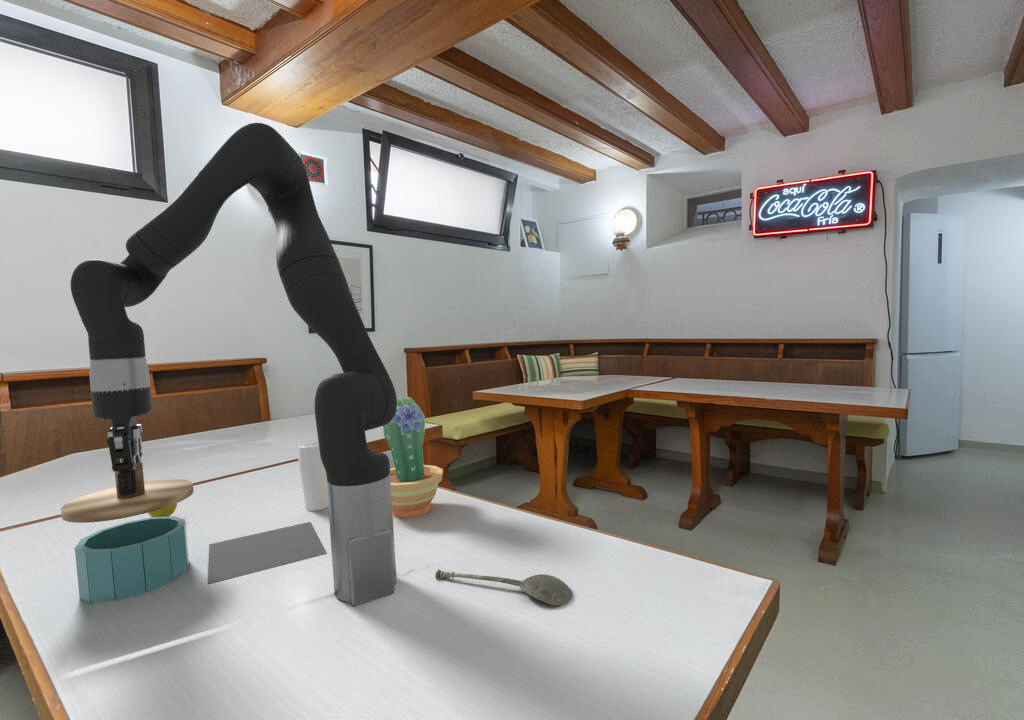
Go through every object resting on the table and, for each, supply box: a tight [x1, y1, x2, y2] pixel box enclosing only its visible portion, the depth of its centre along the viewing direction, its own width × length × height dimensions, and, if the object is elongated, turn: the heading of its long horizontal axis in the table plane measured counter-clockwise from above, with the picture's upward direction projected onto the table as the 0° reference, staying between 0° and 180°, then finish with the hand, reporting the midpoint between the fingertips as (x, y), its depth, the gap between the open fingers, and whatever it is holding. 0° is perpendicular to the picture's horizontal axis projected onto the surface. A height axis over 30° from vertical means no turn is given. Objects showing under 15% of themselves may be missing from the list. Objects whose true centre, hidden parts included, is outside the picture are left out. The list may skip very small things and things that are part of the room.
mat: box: [206, 521, 328, 585], centre depth 89 cm, size 18×18×1 cm
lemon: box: [147, 503, 178, 518], centre depth 107 cm, size 6×6×8 cm
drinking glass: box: [297, 440, 329, 512], centre depth 111 cm, size 7×7×15 cm
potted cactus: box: [382, 396, 444, 518], centre depth 107 cm, size 15×15×25 cm
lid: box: [60, 461, 194, 524], centre depth 80 cm, size 17×17×6 cm
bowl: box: [74, 515, 190, 605], centre depth 80 cm, size 14×14×8 cm
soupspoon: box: [434, 568, 573, 607], centre depth 73 cm, size 22×3×7 cm
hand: (130, 490), depth 80 cm, fingers closed on lid, 3 cm apart
